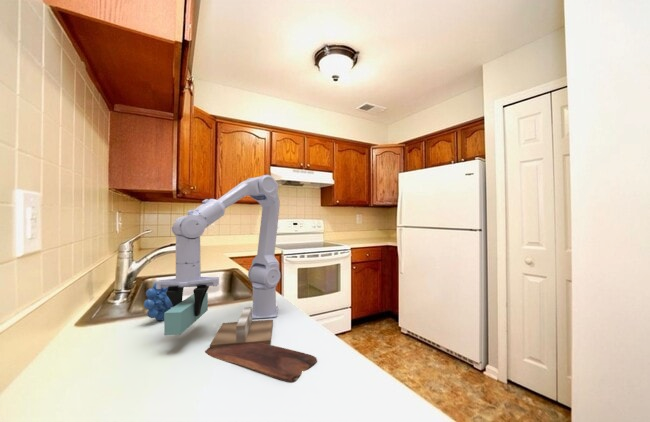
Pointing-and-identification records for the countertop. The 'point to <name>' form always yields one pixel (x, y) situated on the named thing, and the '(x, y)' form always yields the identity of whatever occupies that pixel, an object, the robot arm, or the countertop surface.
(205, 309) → the teal rectangular bar
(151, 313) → the grapes
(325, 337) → the countertop surface
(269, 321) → the ridge
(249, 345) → the wooden tablet
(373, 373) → the countertop surface
